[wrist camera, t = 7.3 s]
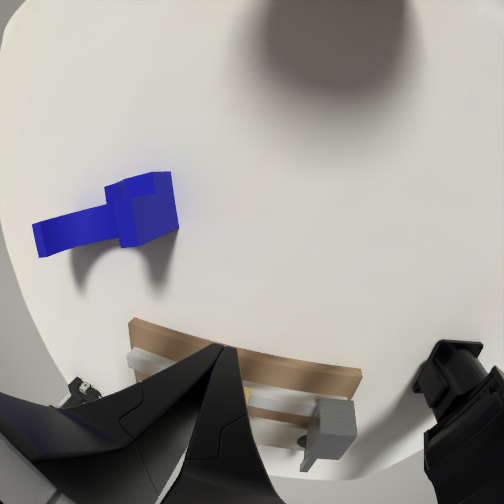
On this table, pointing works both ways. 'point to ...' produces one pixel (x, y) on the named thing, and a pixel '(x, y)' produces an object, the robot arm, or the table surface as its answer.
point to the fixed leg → (329, 431)
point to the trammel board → (252, 381)
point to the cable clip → (115, 216)
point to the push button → (78, 394)
